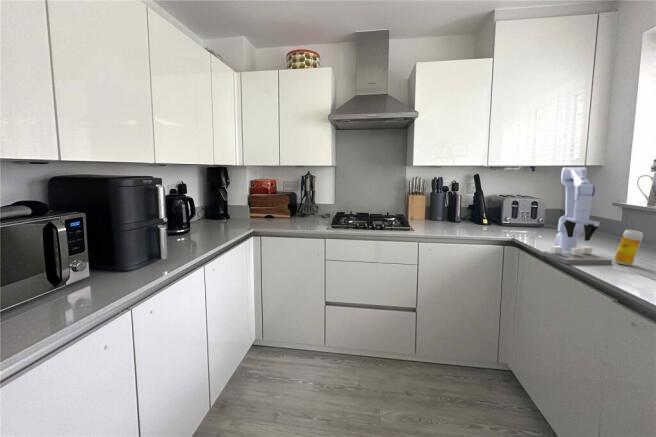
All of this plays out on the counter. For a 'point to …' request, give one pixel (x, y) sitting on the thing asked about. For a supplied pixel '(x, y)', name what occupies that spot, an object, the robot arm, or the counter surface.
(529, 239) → the counter surface
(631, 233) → the yellow and white cylinder
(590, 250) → the breaker right
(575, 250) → the block
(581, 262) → the breaker board
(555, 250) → the block
